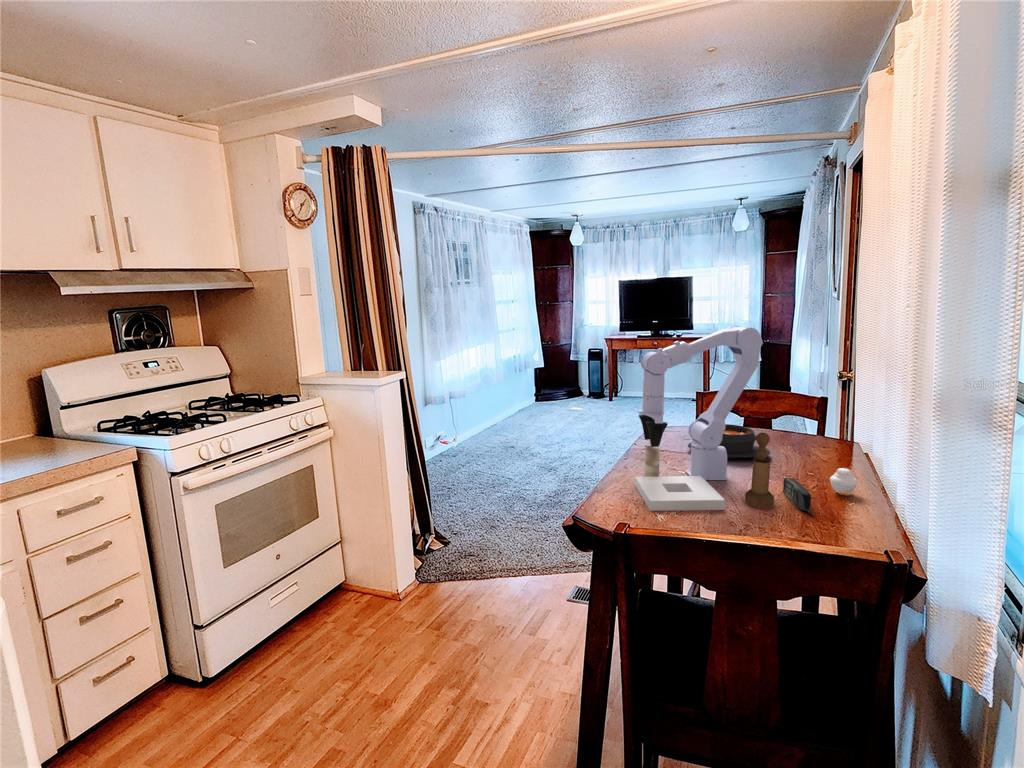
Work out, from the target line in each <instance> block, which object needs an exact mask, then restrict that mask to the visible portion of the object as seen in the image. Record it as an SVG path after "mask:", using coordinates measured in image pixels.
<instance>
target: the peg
mask: <svg viewBox="0 0 1024 768" xmlns="http://www.w3.org/2000/svg"><path fill="white" fill-rule="evenodd" d="M644 447H645V448H644V476H643V477H656V476H660V453H661V452H660V446H659V447H652V446H651V445H646V446H644Z"/></svg>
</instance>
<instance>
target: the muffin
mask: <svg viewBox="0 0 1024 768" xmlns="http://www.w3.org/2000/svg"><path fill="white" fill-rule="evenodd" d="M829 481H830V484H831V488H832V490H833V491H834V490H835V491H836V492H838V493H845V494H846V493H848V494H849V493H851V492H853V491H854V490H855V489H856V486H857V485H858V481H857V478H856V477H854V475H853V472H852V470H851V469H849V468H846V467H841V468H840V467H839V468H837V469H836V471H835V473H833V475H832V476H830V477H829ZM835 491H834V492H835ZM851 494H852V493H851Z"/></svg>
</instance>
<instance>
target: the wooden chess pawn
mask: <svg viewBox="0 0 1024 768" xmlns="http://www.w3.org/2000/svg"><path fill="white" fill-rule="evenodd" d="M755 436H756V440H755V441H756V442H757V444H758V446H759V450H757V454H758V457H753V459H752V474H751V487H750V489H749V490H747V491H746V492H745V496H744V502H745V503H746V505H748V506H751V507H754V508H758V509H771V508H773V506H774V502H775V501H774V500H775V496H774V495H773V494H772V493H771V491H769V488H770V474H771V473H770V472H771V460H769V459H767V456H766V455H767V451H766V449H767V448H766V447H767V445H768V444H769V442H770V435H769V434H768V433H766V432H760V433H757V435H755ZM765 448H766V449H765Z"/></svg>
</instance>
